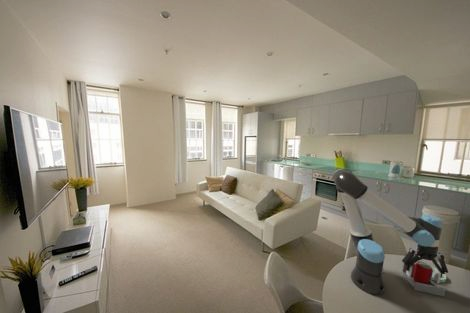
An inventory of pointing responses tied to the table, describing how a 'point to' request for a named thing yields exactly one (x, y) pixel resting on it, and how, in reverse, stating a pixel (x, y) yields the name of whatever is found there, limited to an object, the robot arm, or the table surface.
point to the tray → (440, 278)
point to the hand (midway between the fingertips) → (421, 278)
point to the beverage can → (422, 273)
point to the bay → (423, 287)
